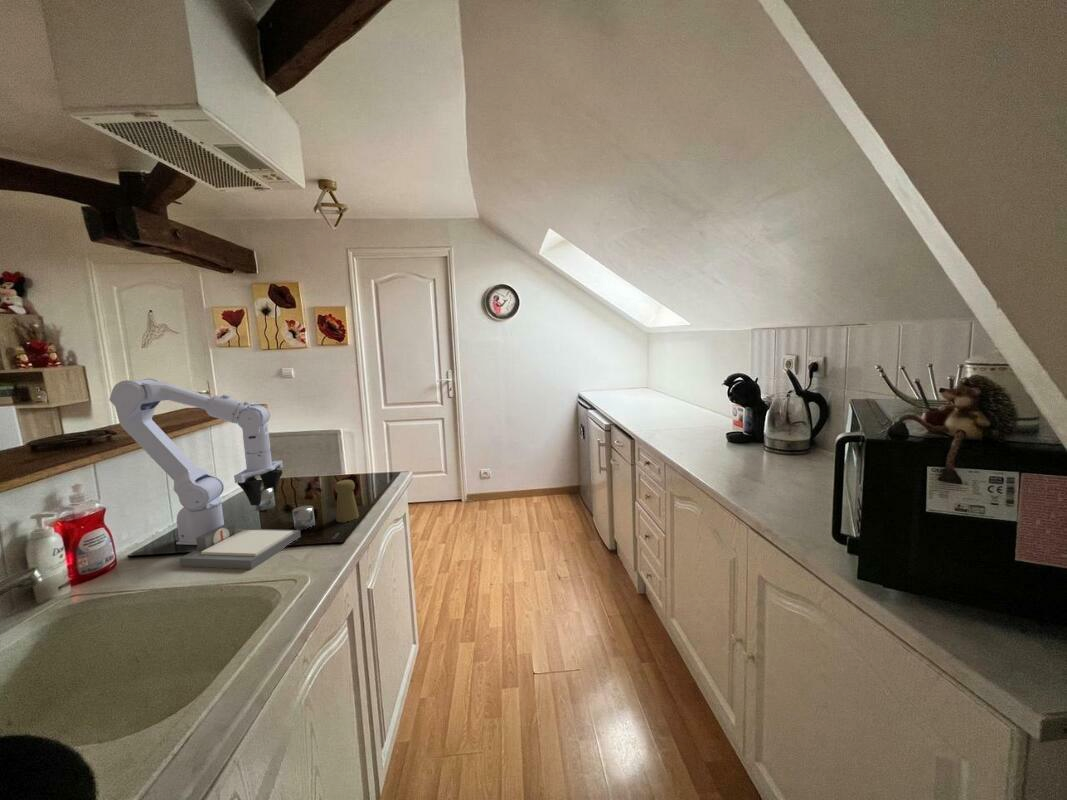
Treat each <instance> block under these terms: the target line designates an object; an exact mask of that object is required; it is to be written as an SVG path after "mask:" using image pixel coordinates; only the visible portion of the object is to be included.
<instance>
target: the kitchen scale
mask: <svg viewBox="0 0 1067 800" xmlns="http://www.w3.org/2000/svg"><path fill="white" fill-rule="evenodd" d="M300 537H301V538H302V535H301V530H295V529H271V528H270V529H268V528H267V529H264V528H260V529H259V528H236V529H235V525H234V523H224V525H222V526H220V527H218V528H216V529H213V530H211V531H209V532H207V533H205V534H203V535H201V536H199V537H197V538H196V541H197V545H196V546H197V549H195V550H193V551H191V552H189V553H187V554H185V555H183V556H180V557H179V564H180V565H179V566H180V567H181V568H182V567H184V568H185V567H187V568H206V567H215V568H214V569H233V568H236V569H237V568H238V569H237V570H253V569H255V568H256V567H258V566H259V565H261V564H262V563H264V562H266V561H267V560H269V559H270V558H271V557H273V556H275V555H276V554H278V553H279V552H281V551H282V550H285V547H286V546H287V545H289V544H290V543H292V542H293V541H295V540H296V541H298V540H299V539H298V538H300ZM301 538H300V539H301ZM297 539H298V540H297ZM296 541H295V542H296ZM293 543H294V542H293ZM293 543H292V544H293ZM290 545H291V544H290ZM290 545H289V546H290ZM287 547H288V546H287ZM287 547H286V548H287Z"/></svg>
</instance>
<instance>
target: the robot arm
mask: <svg viewBox="0 0 1067 800" xmlns="http://www.w3.org/2000/svg"><path fill="white" fill-rule="evenodd" d="M109 401H110V402H111V404H113V406H114V407H115V412H116V415H117V419H118V423H119V425H120V426H121V428H123V429H122V430H124V431H125V432H126V433H127V434H128V435H129V437H131V438H132V439H133V441H135V443H136V444H138V445H139V446H140V447H141V448H142V449H143V450H144V452H145V453H146V454H147V455H149V456H150V458H151V459H152V460H153V461H154V462H155V463H156V464H157V465H158V466H159V467H160V468H161V469H162V470H163V471H164V472H165V473H166V475H168V476H169V477H170V479H171V480H173V491H174V492H175V493H176V495H177V497H178V500H179V503H180V505H182V508H181V509H180V510H179V511H178V512H177V515H176V526H177V534H178V541H177V542H175V543H176V544H175V545H189V546H190V545H191V546H197V541H196V538H197V537H199V536H201V535H203V534H205V533H207V532H209V531H211V530H213V529H216V528H218V527H220V526H222V525H224V524H225V521H224V520H225V519H224V513H223V506H222V505H223V504H222V499H221V495H222V494H223V492H224V491H225V490H224V489H225V487H224V486H225V484H224V483H223V481H222V480H221V479H220V478H219V477H218V476H215V475H212V474H211V473H209V471H208V470H206V469H204V468H199V467H198V466H196V465H195V464H194V463H193V462H192V461H191V459H190V458H189V457H188V456H187V455H186V454H185V453H184V452H183V450H181V448H179V447H178V445H177V444H176V443H174V441H173V440H172V439H171V438H170V437H169V436H168V435H167V434H166V433H165V432H164V431H163V430H162V429H161V427H160V426H159V425H158V424H157V423H156V422H155V421H154V420H153V416H154V413H155V410H156V408H158V405H159V404H160V403H161V402H163V401H169V402H175V403H179V404H183V405H187V406H191V407H195V408H197V409H201V410H204V411H206V413H207V415H208V416H209V417H212V418H216V419H219V420H222V421H226V422H229V423H233V424H236V425H238V426H239V427H240V428H241V430H242V438H243V449H244V450H243V451H244V458H245V465H246V469H244V470H242V471H240V472H239V473H237V474H235V475H233V477H234V483H235V484H237V485H238V486H239V487H240V488H241V489H242V490H243V492H244V494H245V495H246V497H247V499H248V502H249V504H250V506H253V505H260V488H261V487H262V484H263V486H273V490H274V498H276V495H277V488H278V484H279V481H280V479H281V477H282V475H283V470H282V469H281V468H284V464H283V460H274V461H272V452H271V441H270V434H269V427H268V422H269V420H270V417H271V413H270V411H269V410H268V408H266V407H265V406H262V405H261V404H253V405H252V404H251V402H250V401H240V400H237V399H234V398H232V397H231V395H230V394H222V395H221V394H218V395H214V396H212V397H211V396H208V395H205V394H202V393H198V392H197V391H194V390H190V389H187V388H185V387H182V386H179V385H176V384H173V383H170V382H168V381H162V380H157V379H155V378H144V379H135V380H134V379H133V380H130V379H128V380H121V381H119V382H118V383H116V384H115V385H114V386H113V388H112V390H111V393H110V396H109ZM259 476H260V478H259V479H258V478H257V477H259Z"/></svg>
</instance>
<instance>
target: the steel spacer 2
mask: <svg viewBox="0 0 1067 800" xmlns="http://www.w3.org/2000/svg"><path fill="white" fill-rule="evenodd" d="M292 518H293V526H294V530H295V529H296V530H300V531H304V530H303V529H305V530H308V529H307V528H309V527H311V528H313V527H314V526H315V525H316V519H315V518H316V517H315V511H314V506H313V505H307V504H306V505H302V506H301V505H300V506H298V507H296V508H293V509H292ZM313 525H314V526H313ZM312 526H313V527H312ZM309 529H310V528H309Z"/></svg>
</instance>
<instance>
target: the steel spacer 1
mask: <svg viewBox="0 0 1067 800" xmlns="http://www.w3.org/2000/svg"><path fill="white" fill-rule="evenodd" d="M275 506H276V501H275V497H274V490H273V486H264V485H263V486H261V488H260V505H252V510H253V511H256V512H257V511H264V510H265V511H266V510H269V509H271V508H272V509H273V508H274V507H275Z"/></svg>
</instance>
